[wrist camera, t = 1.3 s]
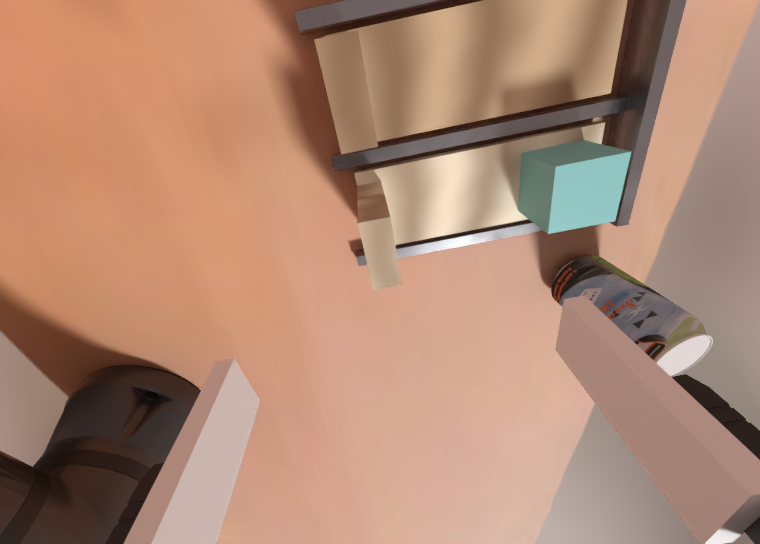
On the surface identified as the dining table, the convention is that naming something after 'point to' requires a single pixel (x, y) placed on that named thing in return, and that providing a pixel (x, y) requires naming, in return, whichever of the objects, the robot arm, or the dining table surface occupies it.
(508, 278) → the dining table surface
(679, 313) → the beverage can
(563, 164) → the block
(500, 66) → the strip oak
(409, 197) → the beige long angled piece
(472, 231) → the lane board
